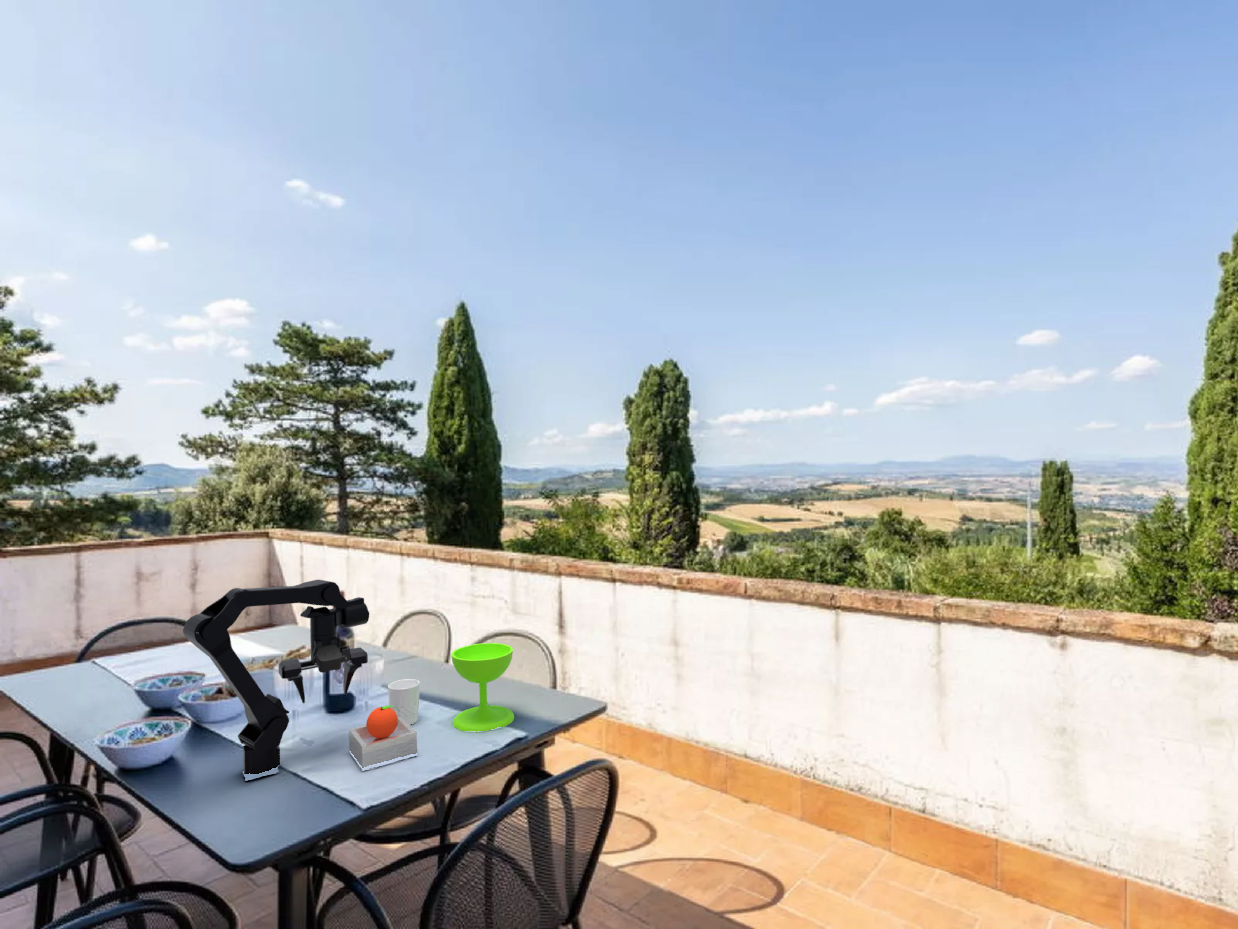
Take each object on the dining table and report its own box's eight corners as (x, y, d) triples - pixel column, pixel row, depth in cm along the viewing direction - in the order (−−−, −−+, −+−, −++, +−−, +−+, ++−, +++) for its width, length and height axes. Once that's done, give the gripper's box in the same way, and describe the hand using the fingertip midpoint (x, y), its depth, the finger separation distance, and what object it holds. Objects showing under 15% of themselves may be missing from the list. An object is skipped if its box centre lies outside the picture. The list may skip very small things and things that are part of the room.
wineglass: (439, 725, 161) (437, 656, 161) (480, 704, 175) (479, 640, 175) (487, 737, 153) (486, 663, 153) (526, 713, 167) (525, 647, 168)
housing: (362, 771, 136) (362, 746, 137) (349, 752, 146) (348, 729, 146) (417, 756, 144) (416, 732, 144) (400, 738, 153) (400, 716, 153)
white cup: (426, 717, 166) (425, 680, 167) (408, 729, 159) (407, 690, 159) (400, 715, 169) (400, 678, 169) (382, 726, 161) (381, 687, 161)
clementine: (392, 727, 150) (391, 697, 151) (408, 734, 146) (407, 704, 146) (360, 738, 144) (360, 708, 144) (376, 746, 140) (376, 715, 140)
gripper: (285, 647, 137) (286, 718, 137) (373, 632, 148) (374, 698, 148) (277, 637, 146) (278, 703, 146) (361, 624, 157) (362, 686, 157)
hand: (324, 698), depth 149 cm, fingers open, 9 cm apart
